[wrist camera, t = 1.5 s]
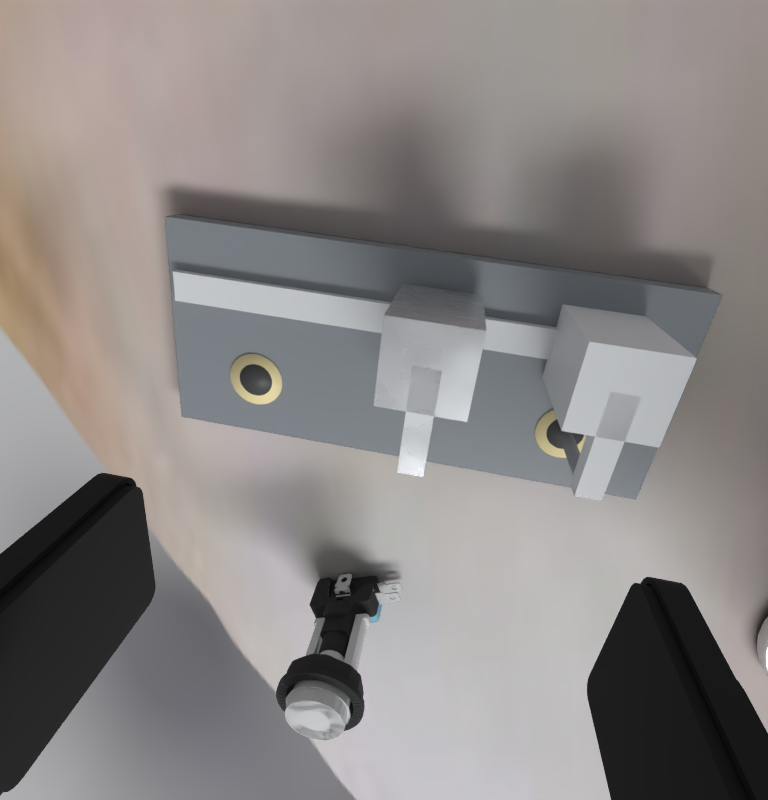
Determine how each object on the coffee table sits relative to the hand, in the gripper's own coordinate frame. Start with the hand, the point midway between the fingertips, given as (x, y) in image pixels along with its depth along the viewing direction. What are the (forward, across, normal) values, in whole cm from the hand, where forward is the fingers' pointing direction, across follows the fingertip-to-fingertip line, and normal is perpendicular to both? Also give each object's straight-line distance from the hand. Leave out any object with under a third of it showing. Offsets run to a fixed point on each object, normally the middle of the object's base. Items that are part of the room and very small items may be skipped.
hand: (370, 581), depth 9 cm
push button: (+20, +2, +22) cm, 29 cm away
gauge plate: (+20, +1, +3) cm, 20 cm away
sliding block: (+18, 0, +2) cm, 18 cm away
